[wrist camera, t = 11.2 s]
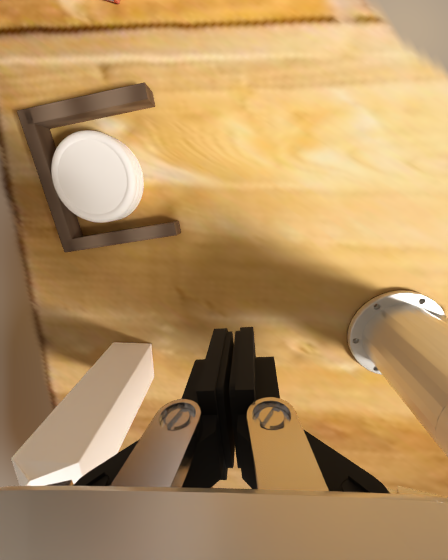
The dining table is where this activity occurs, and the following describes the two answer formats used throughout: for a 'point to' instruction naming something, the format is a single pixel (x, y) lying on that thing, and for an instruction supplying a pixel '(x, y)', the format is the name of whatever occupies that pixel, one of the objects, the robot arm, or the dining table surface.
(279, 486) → the robot arm
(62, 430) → the milk
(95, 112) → the bay
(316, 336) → the dining table surface
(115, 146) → the white plate stack
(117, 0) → the cracker box
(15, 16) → the dining table surface
